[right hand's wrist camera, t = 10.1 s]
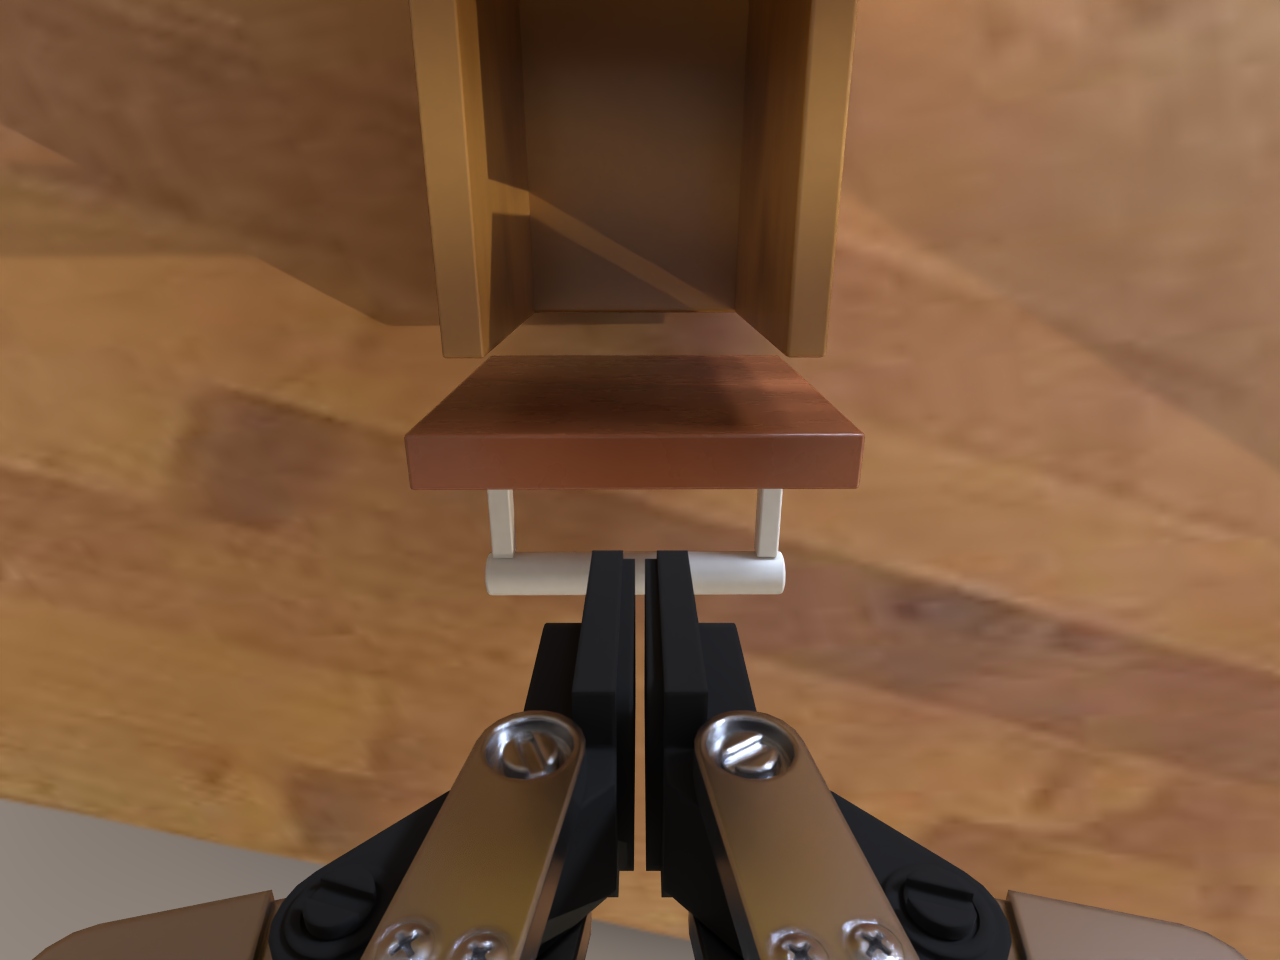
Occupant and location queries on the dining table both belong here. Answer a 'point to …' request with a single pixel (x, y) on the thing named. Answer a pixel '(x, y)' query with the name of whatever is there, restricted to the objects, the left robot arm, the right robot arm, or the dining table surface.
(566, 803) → the right robot arm
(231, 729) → the dining table surface
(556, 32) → the drawer
